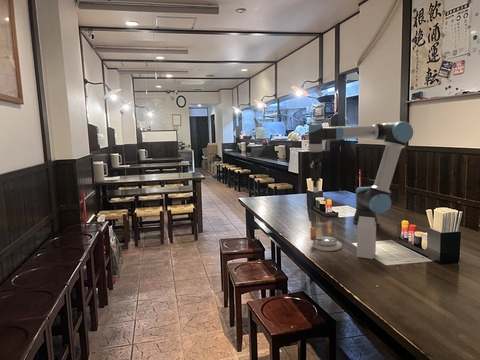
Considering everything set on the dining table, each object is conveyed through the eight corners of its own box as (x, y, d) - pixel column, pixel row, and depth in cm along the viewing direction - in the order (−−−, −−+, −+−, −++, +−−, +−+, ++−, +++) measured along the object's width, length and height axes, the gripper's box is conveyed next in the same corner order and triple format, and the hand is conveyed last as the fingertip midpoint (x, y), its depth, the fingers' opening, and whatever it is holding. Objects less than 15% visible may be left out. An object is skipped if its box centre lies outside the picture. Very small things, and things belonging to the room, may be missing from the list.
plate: (343, 242, 185) (343, 237, 185) (339, 252, 172) (339, 246, 171) (315, 240, 191) (315, 235, 191) (309, 249, 178) (309, 243, 177)
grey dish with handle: (310, 240, 187) (309, 225, 186) (335, 240, 185) (335, 225, 184) (311, 246, 178) (310, 231, 176) (338, 246, 176) (338, 231, 174)
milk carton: (372, 259, 161) (373, 219, 158) (356, 257, 165) (357, 218, 162) (375, 254, 167) (376, 216, 164) (360, 252, 171) (360, 214, 168)
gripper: (313, 150, 205) (314, 189, 208) (304, 152, 194) (305, 193, 198) (326, 150, 201) (326, 190, 204) (317, 152, 190) (317, 194, 193)
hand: (315, 192), depth 201 cm, fingers closed
